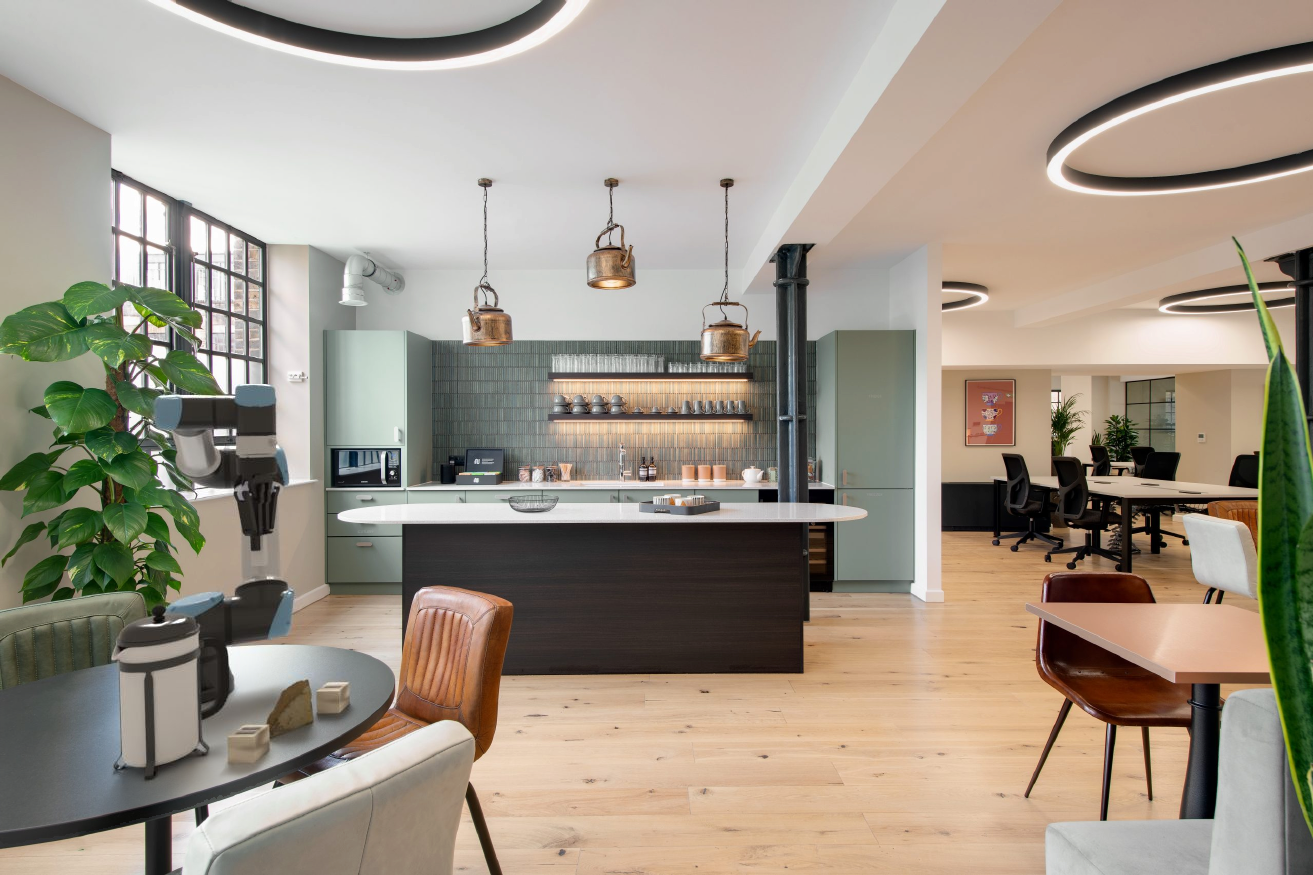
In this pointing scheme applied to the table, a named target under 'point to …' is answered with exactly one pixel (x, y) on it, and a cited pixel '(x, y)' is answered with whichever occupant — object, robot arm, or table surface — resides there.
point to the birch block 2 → (333, 697)
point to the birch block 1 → (248, 743)
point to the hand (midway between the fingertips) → (259, 565)
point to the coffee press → (164, 689)
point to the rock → (291, 709)
